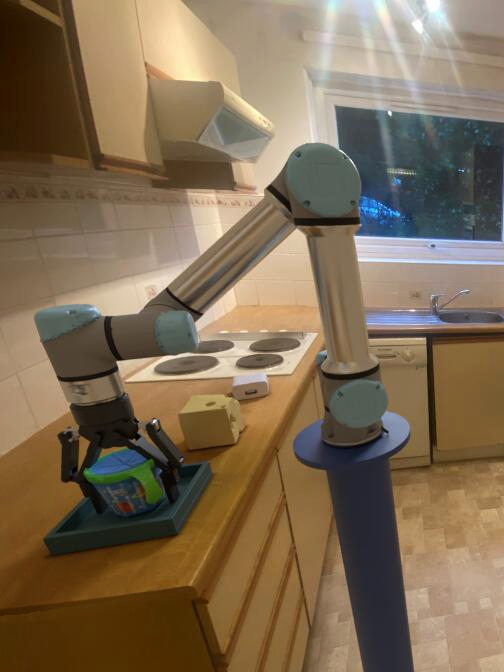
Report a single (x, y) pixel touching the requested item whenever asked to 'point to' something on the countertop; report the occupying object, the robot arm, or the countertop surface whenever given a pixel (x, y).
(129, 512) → the snack cup
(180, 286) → the robot arm
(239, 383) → the charger
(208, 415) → the cheese
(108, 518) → the tray
